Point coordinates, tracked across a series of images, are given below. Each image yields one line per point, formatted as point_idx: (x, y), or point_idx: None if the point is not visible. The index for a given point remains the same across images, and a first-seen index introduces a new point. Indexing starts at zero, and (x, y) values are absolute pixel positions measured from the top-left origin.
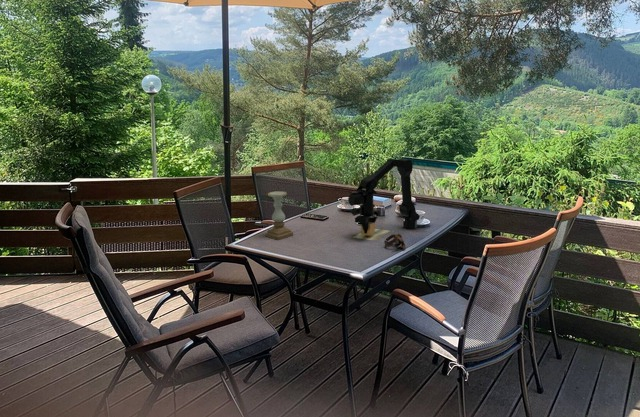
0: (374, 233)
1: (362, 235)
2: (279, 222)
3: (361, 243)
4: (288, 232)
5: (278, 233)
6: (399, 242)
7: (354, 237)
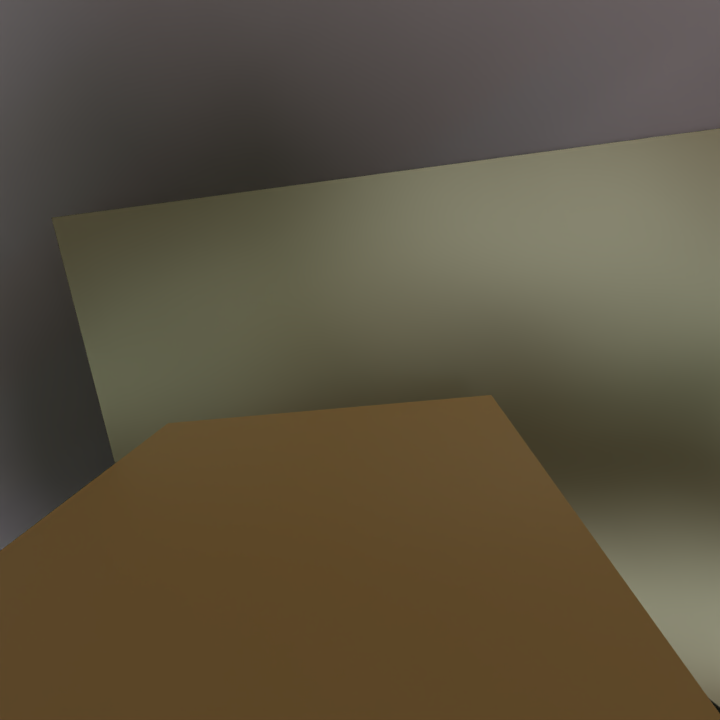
0: (676, 514)
1: (353, 347)
2: None
3: (4, 534)
4: None
5: None
6: None
7: (82, 264)
